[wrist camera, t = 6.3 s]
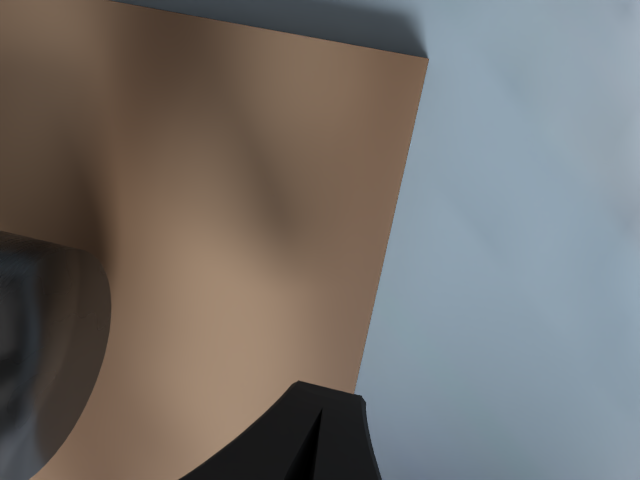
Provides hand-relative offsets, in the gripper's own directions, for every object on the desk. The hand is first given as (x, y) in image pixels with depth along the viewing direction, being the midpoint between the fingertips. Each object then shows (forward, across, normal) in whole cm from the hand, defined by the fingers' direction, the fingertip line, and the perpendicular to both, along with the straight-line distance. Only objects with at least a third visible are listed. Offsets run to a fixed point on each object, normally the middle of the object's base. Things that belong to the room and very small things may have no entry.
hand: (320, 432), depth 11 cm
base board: (+4, +13, 0) cm, 13 cm away
